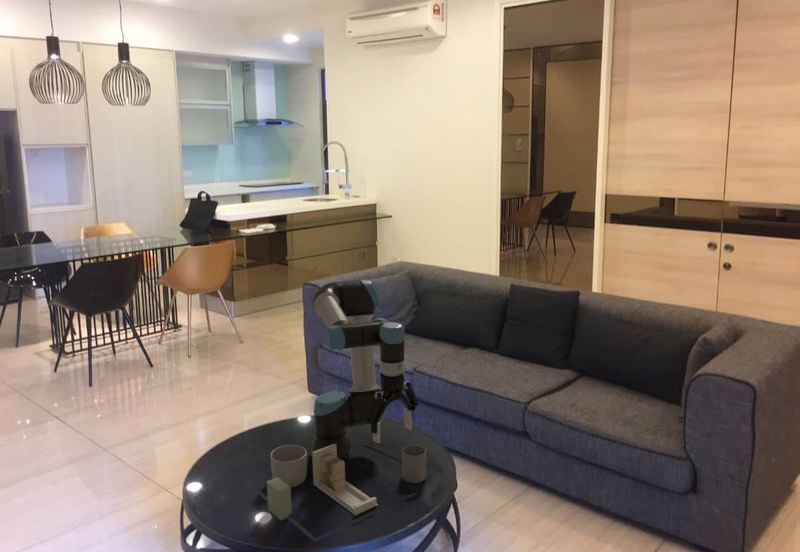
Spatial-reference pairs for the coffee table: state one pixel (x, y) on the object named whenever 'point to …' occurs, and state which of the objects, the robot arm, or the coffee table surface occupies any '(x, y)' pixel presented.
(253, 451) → the coffee table surface
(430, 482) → the coffee table surface
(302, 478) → the planter
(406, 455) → the cup
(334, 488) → the oak panel
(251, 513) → the coffee table surface
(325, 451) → the track
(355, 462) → the coffee table surface
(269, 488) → the green panel
